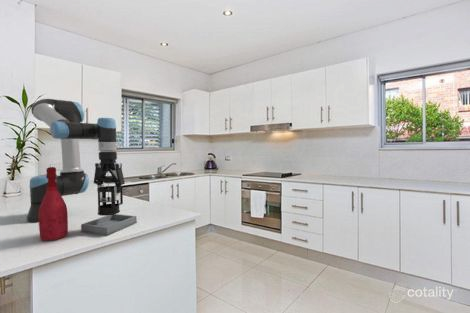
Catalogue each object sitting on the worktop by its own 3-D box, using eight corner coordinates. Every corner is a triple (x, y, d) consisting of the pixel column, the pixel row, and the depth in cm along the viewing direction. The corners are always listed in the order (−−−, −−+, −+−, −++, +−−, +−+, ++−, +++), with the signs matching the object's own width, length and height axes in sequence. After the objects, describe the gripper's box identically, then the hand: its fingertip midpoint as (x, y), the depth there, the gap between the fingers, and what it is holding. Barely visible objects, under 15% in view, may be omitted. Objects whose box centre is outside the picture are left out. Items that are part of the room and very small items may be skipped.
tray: (81, 232, 111) (81, 224, 110) (113, 220, 128) (112, 213, 127) (107, 235, 106) (106, 227, 106) (136, 223, 123) (136, 216, 123)
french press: (102, 217, 109) (100, 165, 107) (92, 213, 114) (90, 164, 113) (127, 211, 118) (126, 163, 117) (117, 208, 124) (115, 162, 122)
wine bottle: (49, 233, 109) (46, 166, 107) (73, 232, 110) (70, 165, 108) (33, 242, 99) (29, 168, 98) (59, 241, 100) (56, 168, 98)
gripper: (83, 151, 115) (85, 199, 116) (119, 151, 108) (121, 202, 109) (97, 151, 122) (98, 196, 123) (132, 151, 115) (133, 198, 116)
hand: (109, 199), depth 116 cm, fingers closed on french press, 9 cm apart
